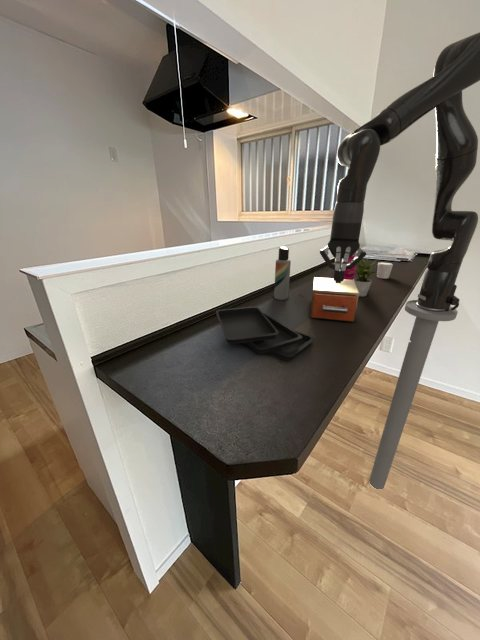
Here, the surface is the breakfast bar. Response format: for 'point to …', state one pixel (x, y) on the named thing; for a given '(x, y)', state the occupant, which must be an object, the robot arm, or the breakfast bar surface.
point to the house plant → (363, 277)
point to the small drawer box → (334, 290)
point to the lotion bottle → (282, 274)
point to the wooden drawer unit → (334, 306)
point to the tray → (262, 332)
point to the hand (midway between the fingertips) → (337, 282)
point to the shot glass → (384, 269)
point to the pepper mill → (351, 275)
